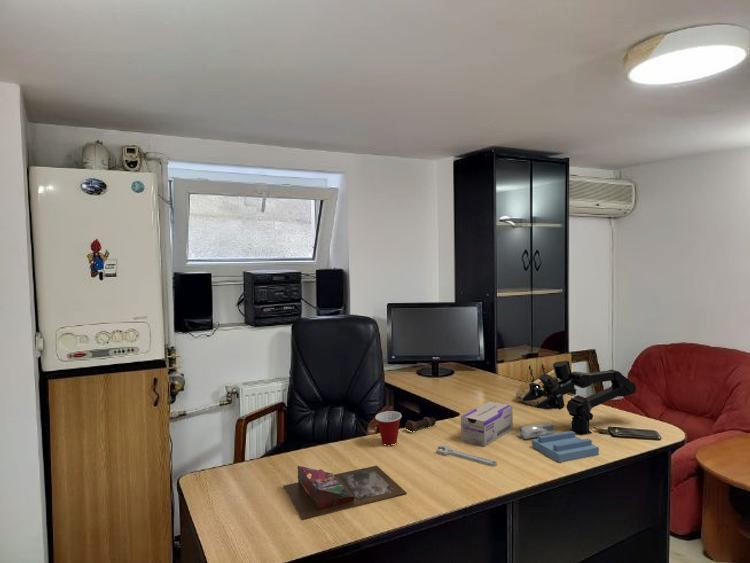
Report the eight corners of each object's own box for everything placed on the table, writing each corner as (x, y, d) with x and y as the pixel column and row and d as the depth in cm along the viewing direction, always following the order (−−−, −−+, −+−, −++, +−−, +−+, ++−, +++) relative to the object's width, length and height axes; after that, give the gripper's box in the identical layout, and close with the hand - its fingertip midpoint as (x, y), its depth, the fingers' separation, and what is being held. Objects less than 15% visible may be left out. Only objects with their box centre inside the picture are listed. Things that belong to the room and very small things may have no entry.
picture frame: (282, 488, 170) (282, 464, 169) (377, 468, 183) (376, 446, 183) (301, 522, 147) (300, 495, 147) (407, 497, 161) (407, 472, 161)
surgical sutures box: (490, 424, 225) (490, 401, 224) (512, 430, 218) (512, 405, 217) (461, 441, 206) (460, 416, 205) (484, 447, 199) (484, 421, 198)
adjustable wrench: (498, 466, 182) (498, 461, 182) (489, 472, 178) (489, 467, 178) (442, 448, 199) (442, 444, 199) (432, 453, 195) (432, 448, 195)
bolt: (435, 429, 226) (410, 436, 217) (428, 421, 229) (403, 428, 220) (439, 419, 223) (414, 426, 214) (432, 412, 227) (408, 418, 217)
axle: (546, 432, 214) (546, 420, 213) (554, 436, 209) (554, 424, 209) (518, 437, 209) (518, 425, 209) (526, 441, 204) (526, 429, 204)
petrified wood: (563, 405, 248) (561, 387, 246) (547, 416, 241) (544, 397, 239) (531, 395, 264) (529, 378, 262) (515, 405, 257) (513, 387, 255)
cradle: (569, 440, 203) (569, 428, 203) (598, 455, 188) (598, 442, 188) (532, 447, 198) (531, 434, 197) (559, 462, 182) (559, 449, 182)
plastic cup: (370, 444, 204) (369, 415, 204) (387, 437, 212) (387, 409, 212) (390, 451, 197) (389, 421, 196) (407, 443, 205) (407, 414, 204)
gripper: (541, 365, 216) (511, 379, 212) (571, 376, 198) (538, 392, 194) (547, 389, 218) (518, 403, 214) (577, 402, 200) (545, 417, 196)
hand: (529, 403), depth 204 cm, fingers open, 9 cm apart
